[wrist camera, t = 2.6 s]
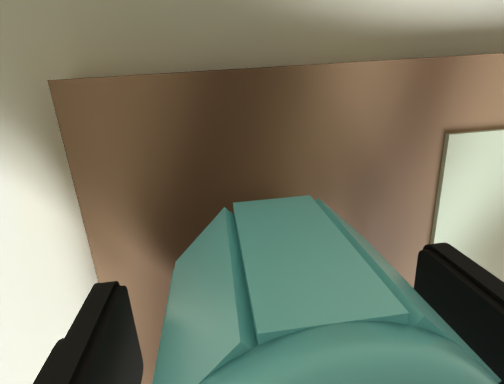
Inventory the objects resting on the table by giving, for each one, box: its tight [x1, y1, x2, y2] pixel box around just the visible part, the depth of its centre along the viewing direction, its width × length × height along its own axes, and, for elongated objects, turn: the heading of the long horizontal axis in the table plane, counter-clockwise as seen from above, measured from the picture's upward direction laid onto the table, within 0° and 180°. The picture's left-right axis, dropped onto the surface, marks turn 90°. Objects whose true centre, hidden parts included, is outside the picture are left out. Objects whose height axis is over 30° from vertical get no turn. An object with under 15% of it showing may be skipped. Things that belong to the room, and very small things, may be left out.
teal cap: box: [152, 195, 502, 384], centre depth 8 cm, size 6×6×6 cm
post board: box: [48, 53, 504, 384], centre depth 10 cm, size 22×13×8 cm, turn 93°
